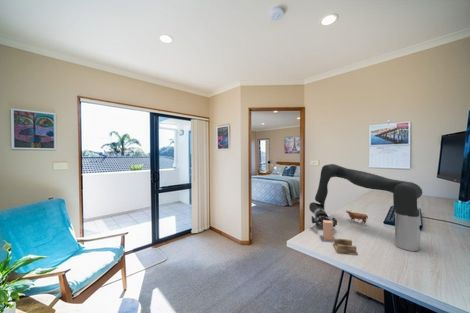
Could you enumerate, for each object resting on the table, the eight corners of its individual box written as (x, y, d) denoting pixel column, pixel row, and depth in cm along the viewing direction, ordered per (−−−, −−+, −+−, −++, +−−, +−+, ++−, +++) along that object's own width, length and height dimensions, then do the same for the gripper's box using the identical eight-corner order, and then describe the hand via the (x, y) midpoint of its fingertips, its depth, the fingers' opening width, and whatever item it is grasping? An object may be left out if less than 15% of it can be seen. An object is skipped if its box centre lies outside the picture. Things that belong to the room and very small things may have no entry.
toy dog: (346, 219, 135) (346, 208, 134) (368, 224, 124) (368, 212, 124) (343, 220, 132) (343, 209, 132) (366, 226, 121) (366, 214, 121)
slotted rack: (351, 247, 97) (351, 239, 97) (357, 256, 90) (357, 247, 89) (332, 245, 100) (332, 238, 99) (337, 254, 92) (337, 245, 92)
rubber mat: (333, 236, 109) (333, 236, 109) (337, 243, 101) (337, 243, 101) (319, 235, 111) (319, 235, 111) (321, 242, 103) (321, 241, 103)
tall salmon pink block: (331, 237, 107) (331, 220, 107) (333, 240, 104) (333, 223, 104) (323, 237, 109) (322, 220, 108) (324, 240, 105) (324, 222, 105)
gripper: (309, 209, 128) (313, 218, 112) (332, 210, 124) (339, 219, 109) (309, 220, 128) (313, 230, 113) (332, 221, 125) (339, 232, 109)
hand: (326, 225), depth 111 cm, fingers open, 8 cm apart
